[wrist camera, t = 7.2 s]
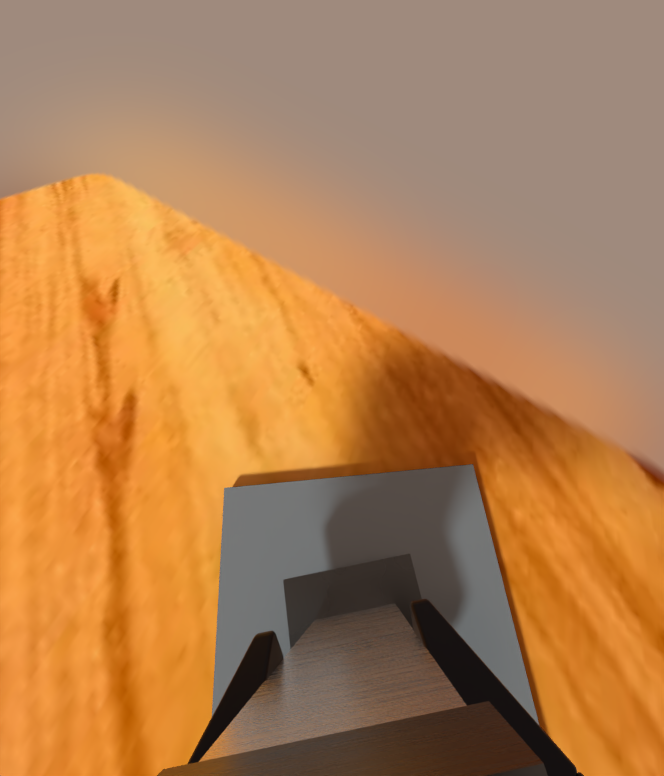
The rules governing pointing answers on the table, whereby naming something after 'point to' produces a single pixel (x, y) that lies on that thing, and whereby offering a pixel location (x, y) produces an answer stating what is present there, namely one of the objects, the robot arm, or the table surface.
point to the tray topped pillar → (361, 694)
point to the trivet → (365, 558)
